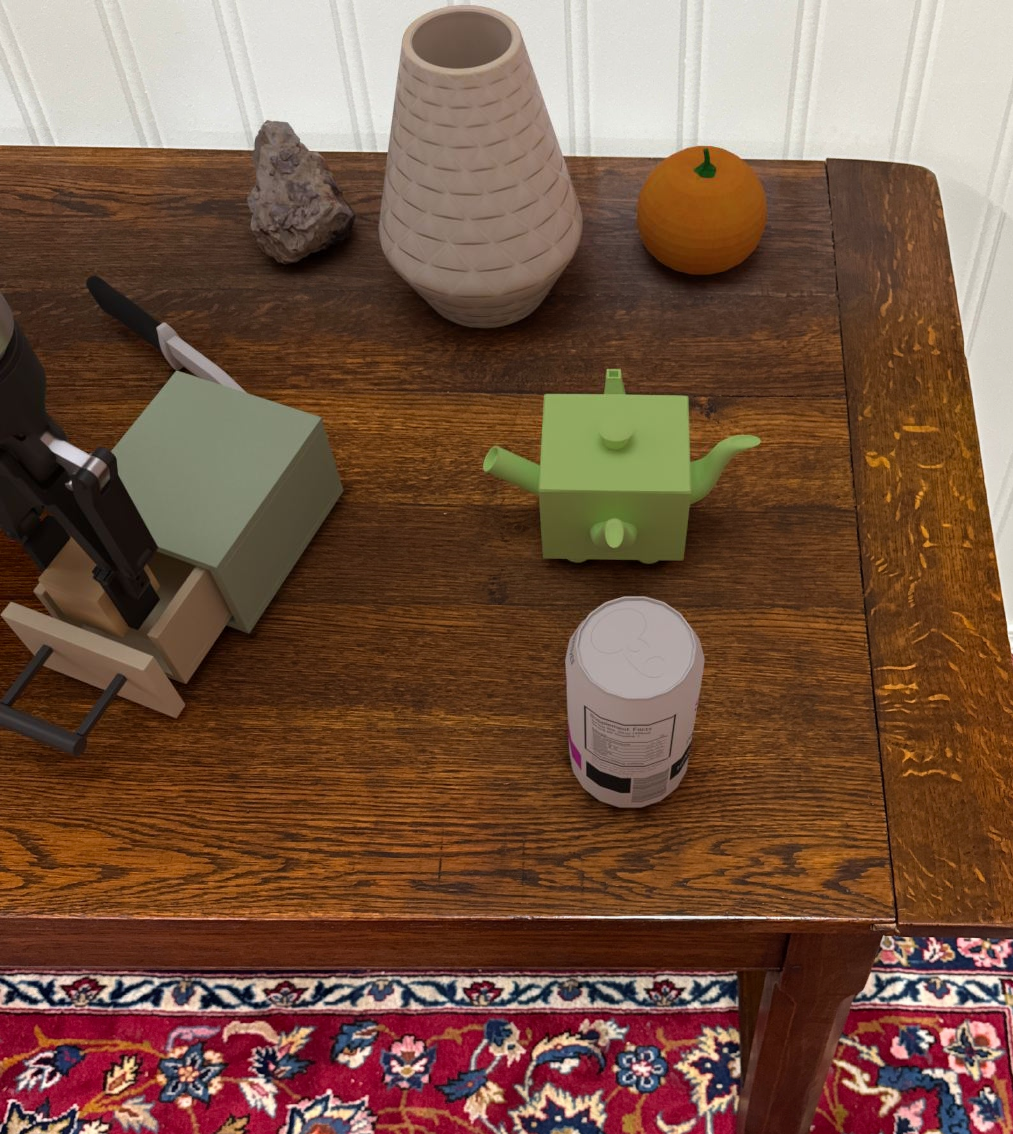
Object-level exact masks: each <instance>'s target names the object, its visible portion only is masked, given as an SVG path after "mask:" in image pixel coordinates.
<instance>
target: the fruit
mask: <svg viewBox="0 0 1013 1134" xmlns="http://www.w3.org/2000/svg"><path fill="white" fill-rule="evenodd" d="M767 204H768V203H767V196H766V190H765V188H764V186H763V184H762V182H761V180H760V179H759V177H758V175H757V174H756V171H754V170H753V168H752V167H751V166H750V165H749V164H748V163H746V162H745V161H744V160H743V159H742V158H741V157H740V156H739V155H737V154H735V153H733V152H731V151H729V150H727V149H725V148H722V147H718V146H713V145H695V146H690V147H686V148H684V149H681V150H679V151H676V152H675V153H672V154H671V155H669V156H667V157H666V158H665V159H663V160H662V161H661V162H660V163H659V164H657V165H656V166H655V167H654V168H653V169H652V170H651V171H650V173H649V174H648V176H647V178H645V181H644V182H643V185H642V186H641V189H640V191H639V194H638V197H637V204H636V226H637V227H636V228H637V230H638V234H639V236H640V238H641V240H642V242H643V244H644V247H645V248H646V250H647V251H648V253H650V254H651V255H652V256H653V257H654V259H656V260H657V261H658V262H659V263H661V264H662V265H664V266H666V267H668V268H670V269H672V270H673V271H676V272H680V273H683V274H687V275H694V276H695V275H698V276H700V275H701V276H703V275H704V276H709V275H714V274H718V273H724V272H726V271H728V270H730V269H732V268H734V267H736V266H738V265H740V264H742V263H743V262H744V261H745V260H746V259H747V258H748V257H749V256H750V255H751V254H752V253H754V251H755V250H756V249H757V247H758V245H759V243H760V241H761V239H762V236H763V233H764V232H765V229H766V226H767V223H768V221H767V220H768V205H767Z"/></svg>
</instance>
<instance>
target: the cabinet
mask: <svg viewBox="0 0 1013 1134" xmlns="http://www.w3.org/2000/svg"><path fill="white" fill-rule="evenodd" d="M245 392H246V391H245ZM245 392H242V391H239V390H236V389H233V388H229V387H226V386H223V385H220V384H217V383H214V382H211V381H208V380H205V379H202V378H199V377H197V376H196V375H192V374H189V373H186V372H183V371H180V370H178V371H177V370H175V372H174V373H173V374H172V375H171V377H170V378H169V379H168V380H167V382H166V383H165V384H164V385H163V387H162V388H161V389H160V390H159V392H158V393H157V394H156V395H155V396H154V398H153V399H152V400H151V401H150V402H149V404H148V405H147V406H146V407H145V409H144V410H143V411H142V412H141V414H140V415H139V416H138V417H137V418H136V419H135V421H134V422H133V424H132V425H131V426H130V427H129V428H128V430H126V432H125V433H124V435H123V436H122V437H121V438H120V440H119V441H118V442H117V443H116V445H115V446H114V447H113V448H112V450H110V451H111V452H112V453H113V454H114V455H115V456H116V459H117V466H118V475H119V477H120V479H121V481H122V482H123V484H124V486H125V488H126V490H127V491H128V493H129V495H130V497H131V499H132V501H133V502H134V504H135V506H136V508H137V510H138V511H139V513H140V515H141V517H142V519H143V520H144V522H145V524H146V526H147V528H148V529H149V531H150V533H151V535H152V537H153V539H154V540H155V542H156V544H157V546H158V549H157V552H160V553H163V554H166V555H168V556H171V557H174V558H177V559H179V560H182V561H185V562H188V563H190V564H193V565H196V566H199V567H201V568H204V569H207V570H210V572H211V574H212V575H213V577H214V579H215V581H216V583H217V585H218V587H219V589H220V591H221V593H222V595H223V597H224V599H225V601H226V603H227V605H228V607H229V609H230V611H231V613H232V615H233V616H232V617H231V619H230V620H229V621H228V623H227V624H226V626H227V627H230V628H233V629H235V630H238V631H241V632H243V633H245V634H250V633H251V632H252V630H253V629H254V627H255V626H256V624H257V623H258V621H259V620H260V618H261V617H262V615H263V614H264V612H265V611H266V609H267V608H268V606H269V604H270V603H271V602H272V601H273V598H274V597H275V595H277V592H278V591H279V590H280V588H281V586H282V585H283V583H284V582H285V581H286V579H287V577H288V576H289V574H290V573H291V571H292V570H293V568H294V567H295V565H296V564H297V562H298V561H299V559H300V558H301V556H302V555H303V553H304V552H305V550H306V549H307V547H308V546H309V544H310V543H311V541H312V540H313V538H314V536H316V533H317V532H318V530H319V529H320V527H321V526H322V524H323V523H324V521H325V520H326V518H327V517H328V515H329V514H330V512H331V510H332V509H333V508H334V506H335V505H336V503H337V502H338V500H339V499H340V497H341V496H342V494H343V493H344V487H343V484H342V481H341V479H340V478H341V477H340V474H339V471H338V468H337V467H338V466H337V465H336V461H335V457H334V454H333V451H332V448H331V443H330V440H329V437H328V434H327V431H326V428H325V427H326V426H325V425H324V424H325V423H324V421H323V417H321V416H319V415H316V414H313V413H310V412H307V411H303V410H300V409H298V408H294V407H292V406H288V405H285V404H282V403H278V402H276V401H273V400H269V399H267V398H263V397H261V396H257V395H254V394H251V393H248V392H246V393H245Z"/></svg>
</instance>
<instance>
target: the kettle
mask: <svg viewBox="0 0 1013 1134" xmlns="http://www.w3.org/2000/svg"><path fill="white" fill-rule="evenodd" d="M603 390H604V391H603V393H594V394H593V393H545V394H544V395H543V405H542V406H543V407H542V423H541V425H542V426H541V427H542V428H541V440H540V442H541V443H540V458H539V459H540V461H539V464H537V463H535V462H533V461H531V460H528V459H527V458H524V457H522V456H520V455H518V454H515V453H513V452H511V451H509V450H507V449H504V448H502V447H500V446H498V445H493V446H492V447H491V448H490V449H489V450H488V452H487V454H486V455H485V458H484V460H483V463H482V470H483V471H484V472H485V473H488V474H490V475H492V476H493V477H496V478H498V479H500V480H502V481H505V482H507V483H509V484H511V485H514V486H515V487H517V488H520V489H522V490H525V491H527V492H528V493H530V494H533V495H535V496H537V497H538V501H539V502H538V503H539V505H538V506H539V517H540V518H539V519H540V520H539V521H540V531H541V532H540V534H541V548H542V559H556V560H557V559H559V560H561V559H562V560H566V559H567V560H568V561H570V562H573V563H584V562H586V561H587V560H611V561H612V560H615V561H616V560H618V561H619V560H620V561H625V560H626V561H639V562H641V563H642V564H655V563H657V562H659V561H684V559H685V550H686V541H687V533H688V526H689V525H688V523H689V518H690V517H689V515H690V508H691V505H693V504H696V503H697V502H699V501H701V500H703V499H704V498H705V497H707V496H708V495H709V494H710V493H711V492H712V491H713V489H714V488H715V486H716V484H717V483H718V481H719V479H720V478H721V475H722V473H723V471H724V470H725V468H726V467H727V465H728V463H729V462H730V461H731V460H732V459H733V458H734V457H735V456H737V455H738V454H740V453H742V452H744V451H747V450H749V449H753V448H755V447H757V446H759V445H760V444H761V442H762V440H761V438H760V437H758V436H757V435H751V434H737V435H732V436H729V437H726V438H725V439H723V440H721V441H719V442H718V443H717V444H716V445H715V446H713V448H712V449H711V450H710V451H709V452H708V453H707V454H706V455H705V456H703V457H702V458H700V459H697V460H693V461H691V443H690V442H691V441H690V438H691V437H690V409H689V408H690V407H689V396H688V395H675V394H673V395H671V394H627V393H626V389H625V384H624V380H623V375H622V369H621V368H606V373H605V383H604V389H603Z"/></svg>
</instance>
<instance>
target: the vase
mask: <svg viewBox="0 0 1013 1134" xmlns="http://www.w3.org/2000/svg"><path fill="white" fill-rule="evenodd" d="M400 46H401V47H400V53H399V54H400V55H399V62H398V70H397V77H396V85H395V93H394V101H393V109H392V118H391V124H390V132H389V133H390V134H389V139H388V147H387V155H386V163H385V171H384V179H383V187H382V193H381V203H380V211H379V217H378V228H377V230H378V231H377V232H378V239H379V244H380V247H381V250H382V252H383V254H384V256H385V258H386V261H387V262H388V264H389V265H390V266H391V268H392V269H393V270H394V271H395V272H396V273H397V274H398V275H399V276H400V277H401V278H402V279H403V281H405V282H406V283H407V285H409V286H410V287H411V288H412V289H413V290H414V291H415V292H416V293H417V294H418V295H419V296H420V297H421V298H422V299H423V300H424V301H425V302H426V303H427V304H428V305H429V306H430V307H431V308H432V309H433V310H435V312H436V313H438V314H439V315H440V316H441V317H443V318H444V319H446V320H448V321H450V322H451V323H454V324H456V325H459V326H463V327H466V328H467V327H468V328H473V329H496V328H501V327H506V326H508V325H509V326H510V325H512V324H515V323H517V322H520V321H522V320H524V319H525V318H527V317H529V316H530V315H531V314H532V313H534V312H535V311H536V310H537V309H538V308H539V307H540V305H541V304H542V302H543V301H544V300H545V298H546V297H547V296H548V294H549V292H550V291H551V289H552V288H553V287H554V285H555V284H556V283H557V281H558V279H559V278H560V277H561V275H562V273H563V272H564V270H566V267H567V266H568V265H569V263H570V262H571V260H572V259H573V258H574V256H575V254H576V252H577V250H578V248H579V247H580V246H579V245H580V243H581V239H582V235H583V227H584V224H583V223H584V222H583V212H582V207H581V205H580V202H579V199H578V196H577V193H576V190H575V187H574V185H573V182H572V178H571V175H570V172H569V169H568V166H567V163H566V160H565V158H564V154H563V152H562V149H561V146H560V143H559V140H558V138H557V134H556V132H555V128H554V125H553V123H552V119H551V117H550V114H549V110H548V108H547V105H546V102H545V99H544V96H543V93H542V90H541V87H540V84H539V81H538V79H537V76H536V73H535V70H534V67H533V64H532V61H531V58H530V55H529V52H528V49H527V46H526V44H525V40H524V37H523V35H522V31H521V29H520V27H519V26H518V24H517V23H516V22H515V20H513V18H511V17H510V16H509V15H507V14H505V13H503V11H499V10H497V9H494V8H491V7H487V6H482V5H473V4H457V5H449V6H443V7H440V8H437V9H436V8H435V9H433V10H430V11H429V12H426V13H424V14H422V15H420V16H419V17H417V18H416V19H415V20H413V21H412V22H411V23H410V24H409V25H408V27H406V29H405V31H404V33H403V35H402V38H401V45H400Z"/></svg>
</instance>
